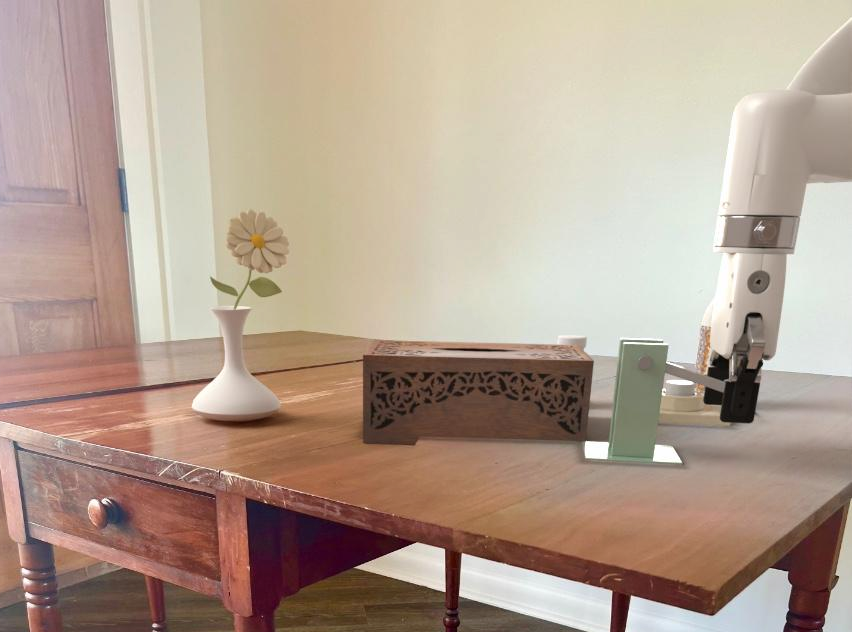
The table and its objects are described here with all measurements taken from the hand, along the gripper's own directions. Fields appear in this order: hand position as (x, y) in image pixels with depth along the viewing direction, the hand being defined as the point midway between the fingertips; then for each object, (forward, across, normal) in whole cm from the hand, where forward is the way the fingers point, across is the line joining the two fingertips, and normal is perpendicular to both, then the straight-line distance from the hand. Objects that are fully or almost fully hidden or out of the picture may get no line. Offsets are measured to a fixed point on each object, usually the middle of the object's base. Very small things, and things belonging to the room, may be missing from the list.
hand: (726, 412), depth 91 cm
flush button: (+2, +23, +1) cm, 23 cm away
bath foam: (+6, +34, -6) cm, 35 cm away
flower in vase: (+6, +13, +57) cm, 59 cm away
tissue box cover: (+6, +11, +27) cm, 30 cm away
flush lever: (-3, 0, +5) cm, 6 cm away
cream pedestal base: (+6, +23, +1) cm, 24 cm away
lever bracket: (+6, 0, +9) cm, 11 cm away
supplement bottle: (+6, +32, +15) cm, 36 cm away
